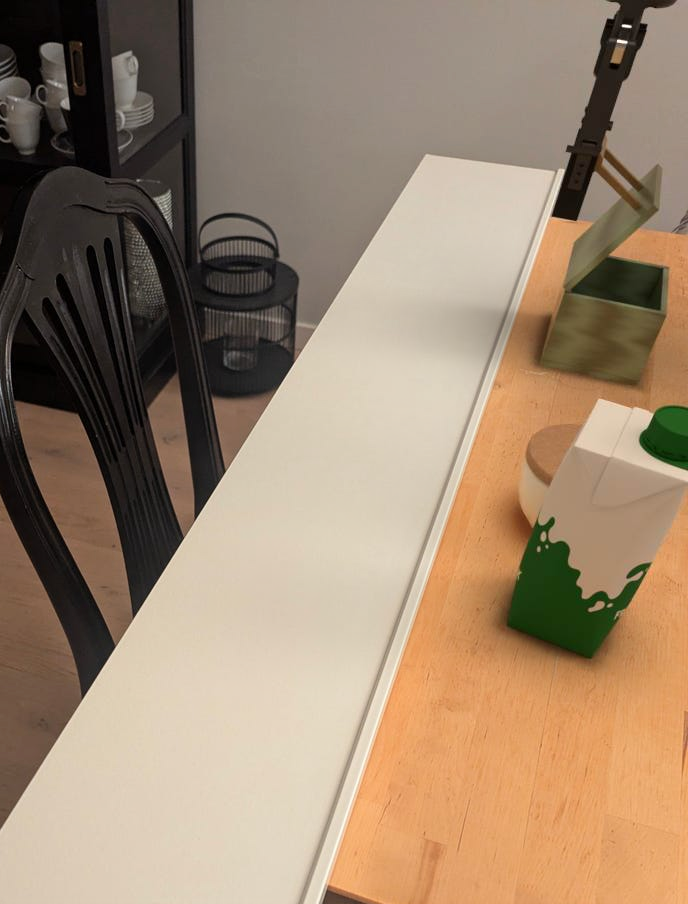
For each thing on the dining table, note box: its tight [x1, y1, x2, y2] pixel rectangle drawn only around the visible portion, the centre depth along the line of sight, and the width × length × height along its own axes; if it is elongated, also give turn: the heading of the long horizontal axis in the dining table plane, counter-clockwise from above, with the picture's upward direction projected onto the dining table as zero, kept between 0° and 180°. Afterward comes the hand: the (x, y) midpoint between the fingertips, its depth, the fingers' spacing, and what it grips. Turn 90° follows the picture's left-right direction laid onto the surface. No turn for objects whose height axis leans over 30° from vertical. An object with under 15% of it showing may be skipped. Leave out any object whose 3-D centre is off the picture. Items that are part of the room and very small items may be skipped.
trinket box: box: [517, 423, 583, 530], centre depth 83 cm, size 11×11×9 cm
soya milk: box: [506, 398, 688, 659], centre depth 70 cm, size 9×9×20 cm
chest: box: [539, 254, 670, 387], centre depth 107 cm, size 11×13×9 cm
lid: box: [563, 134, 663, 291], centre depth 100 cm, size 12×13×9 cm
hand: (567, 205), depth 101 cm, fingers closed on lid, 7 cm apart
